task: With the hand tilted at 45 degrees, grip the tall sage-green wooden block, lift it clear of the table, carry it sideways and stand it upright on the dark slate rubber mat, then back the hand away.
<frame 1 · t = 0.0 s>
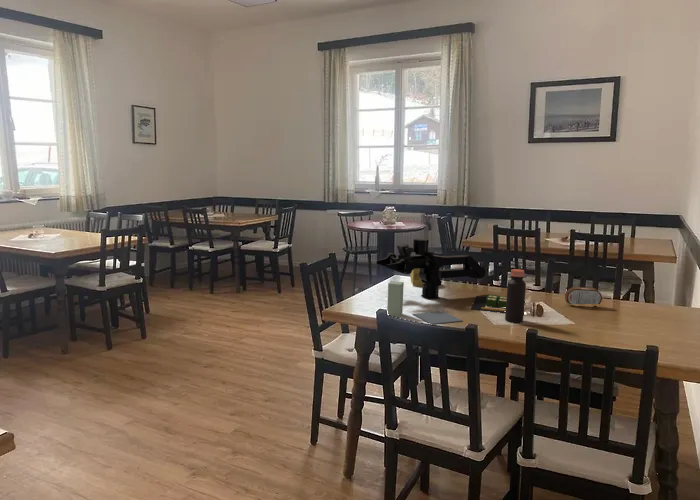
hand: (381, 264, 229), 17 cm above the table, tool horizontal, fingers open, 9 cm apart
bottle: (513, 321, 208), on the table
tin: (582, 307, 232), on the table
mat: (437, 318, 209), on the table
sushi: (503, 307, 230), on the table
block: (394, 314, 212), on the table
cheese: (421, 284, 268), on the table
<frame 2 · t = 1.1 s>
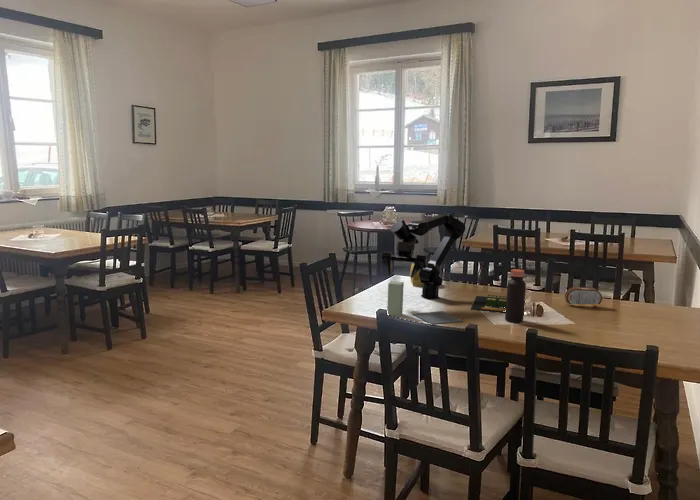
hand: (400, 276, 217), 14 cm above the table, tool tilted 45°, fingers open, 9 cm apart
nothing on the table moved.
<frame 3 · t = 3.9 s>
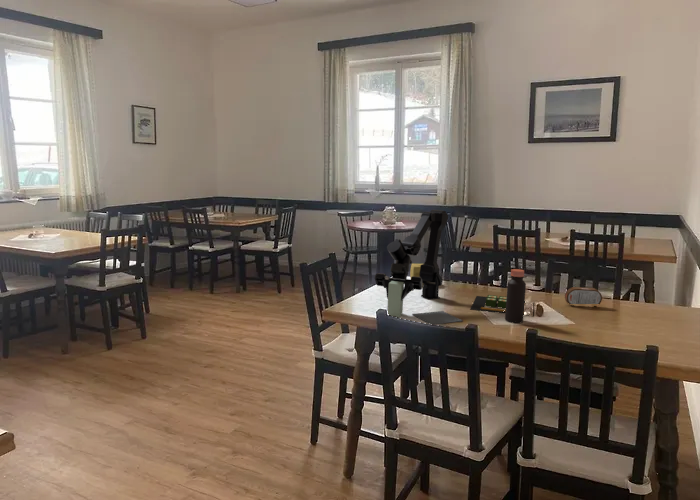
hand: (394, 299, 209), 7 cm above the table, tool tilted 45°, fingers closed on block, 5 cm apart
block: (394, 314, 212), on the table, touching gripper
everything else where it was.
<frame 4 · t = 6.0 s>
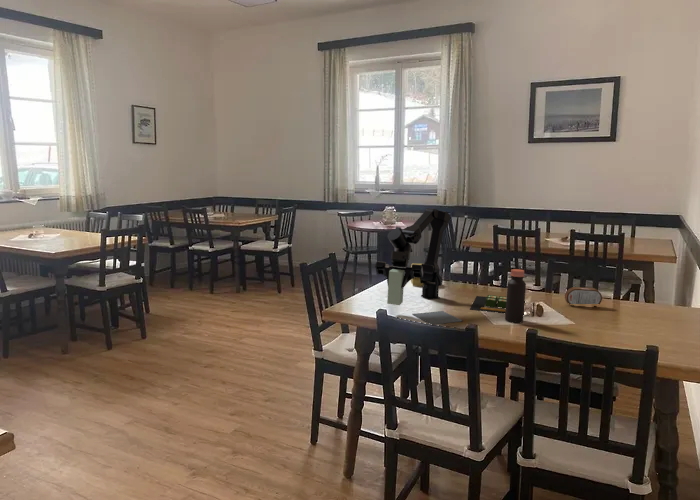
hand: (395, 287, 209), 11 cm above the table, tool tilted 45°, fingers closed on block, 5 cm apart
block: (394, 302, 211), point 5 cm above the table, touching gripper
everything else where it was.
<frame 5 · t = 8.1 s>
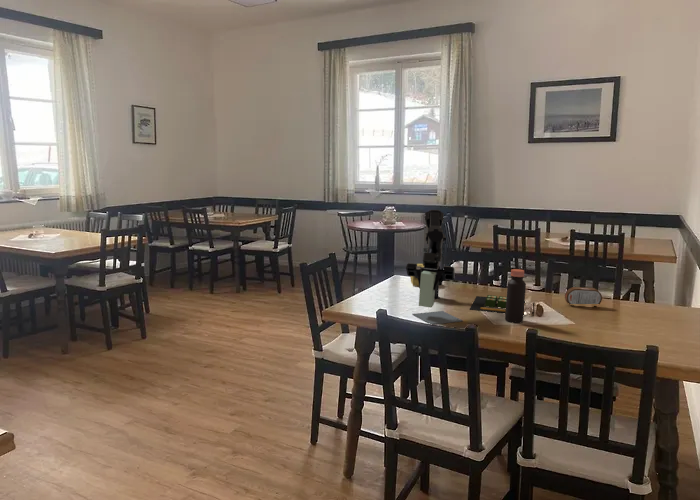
hand: (426, 289, 206), 12 cm above the table, tool tilted 45°, fingers closed on block, 5 cm apart
block: (426, 305, 209), point 5 cm above the table, touching gripper
everything else where it was.
when the fingers open (8 cm above the table, at t = 10.9 s): block stays where it is, resting on mat.
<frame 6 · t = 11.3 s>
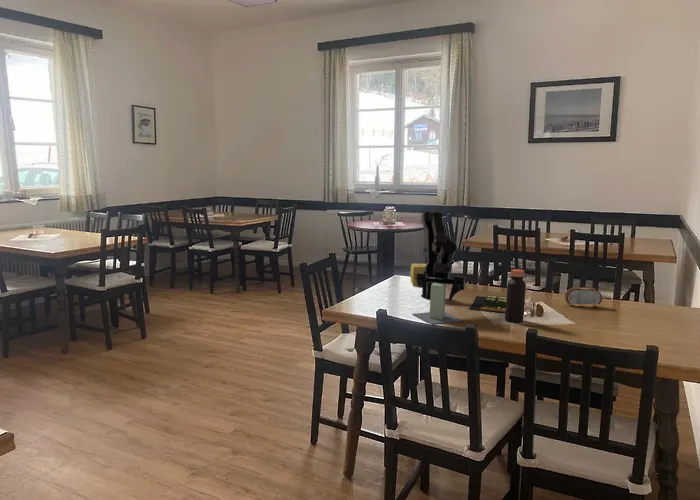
hand: (437, 299, 206), 8 cm above the table, tool tilted 45°, fingers open, 9 cm apart
block: (436, 316, 209), resting on mat
everything else where it was.
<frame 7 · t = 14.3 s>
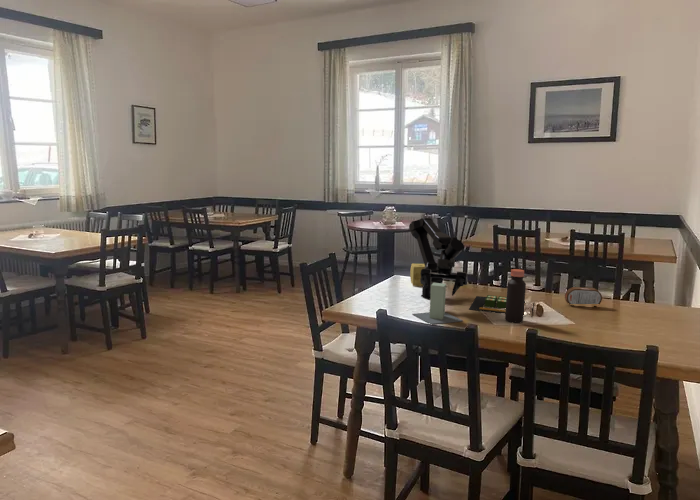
hand: (440, 294, 215), 8 cm above the table, tool tilted 45°, fingers open, 9 cm apart
nothing on the table moved.
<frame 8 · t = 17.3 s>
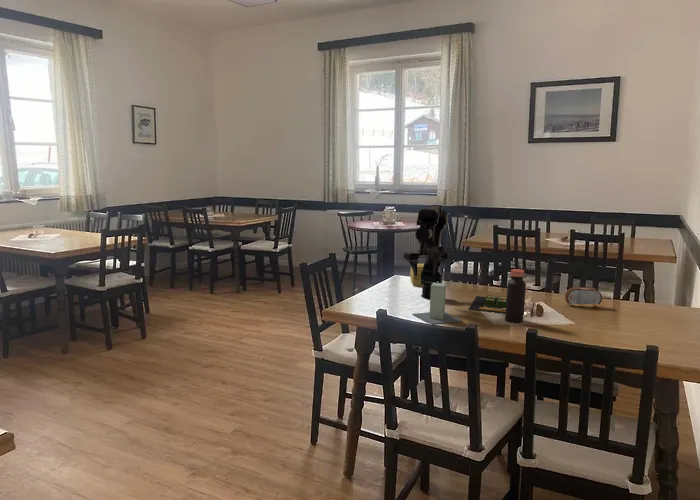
hand: (425, 275, 225), 13 cm above the table, tool pointing down, fingers open, 9 cm apart
at the end: block inside the target area on the mat (0.1 cm from its centre), point 0.4 cm above the mat's base; block tilted 0°; the gripper is holding nothing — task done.
